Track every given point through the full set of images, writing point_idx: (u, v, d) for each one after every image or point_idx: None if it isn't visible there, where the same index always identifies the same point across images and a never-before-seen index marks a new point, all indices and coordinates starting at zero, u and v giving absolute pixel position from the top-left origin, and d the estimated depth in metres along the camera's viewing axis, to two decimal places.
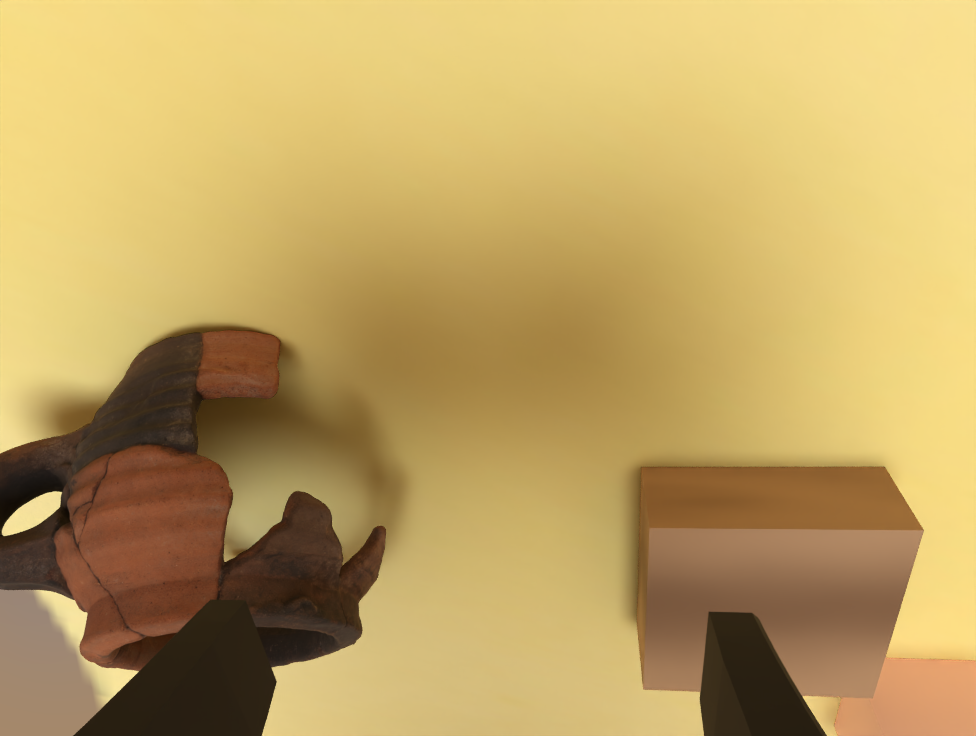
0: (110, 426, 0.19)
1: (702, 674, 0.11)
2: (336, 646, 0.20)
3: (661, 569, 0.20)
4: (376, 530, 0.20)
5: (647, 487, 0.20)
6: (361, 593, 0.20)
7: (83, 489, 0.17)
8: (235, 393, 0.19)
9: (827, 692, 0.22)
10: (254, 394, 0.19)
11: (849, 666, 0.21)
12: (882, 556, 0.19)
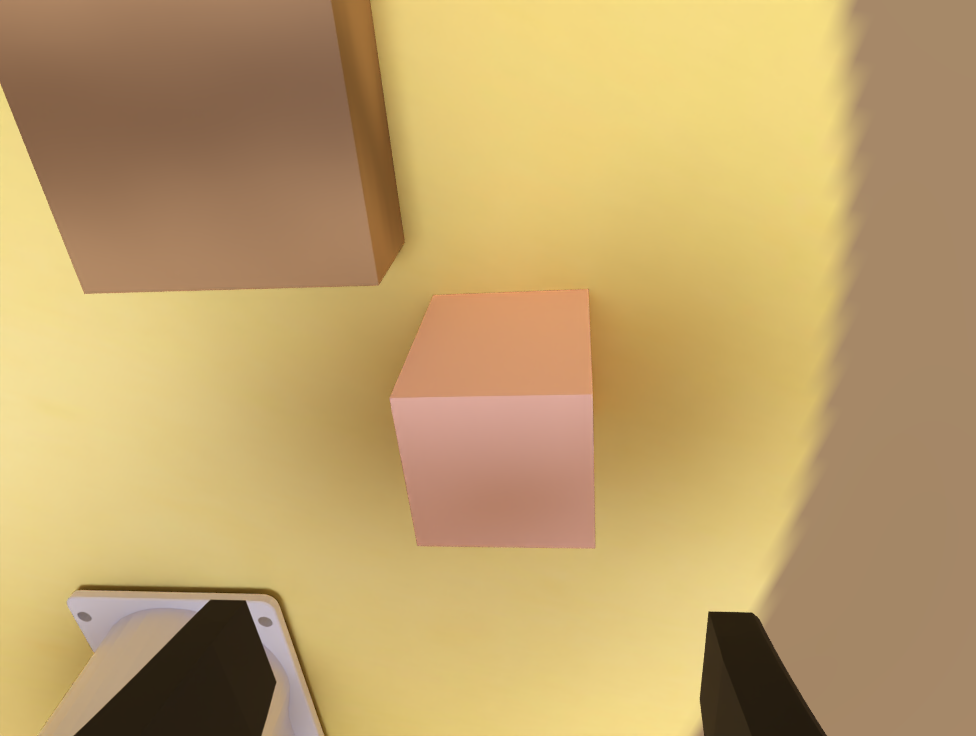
0: None
1: (702, 674, 0.11)
2: None
3: None
4: None
5: None
6: None
7: None
8: None
9: (316, 278, 0.15)
10: None
11: (323, 221, 0.14)
12: None
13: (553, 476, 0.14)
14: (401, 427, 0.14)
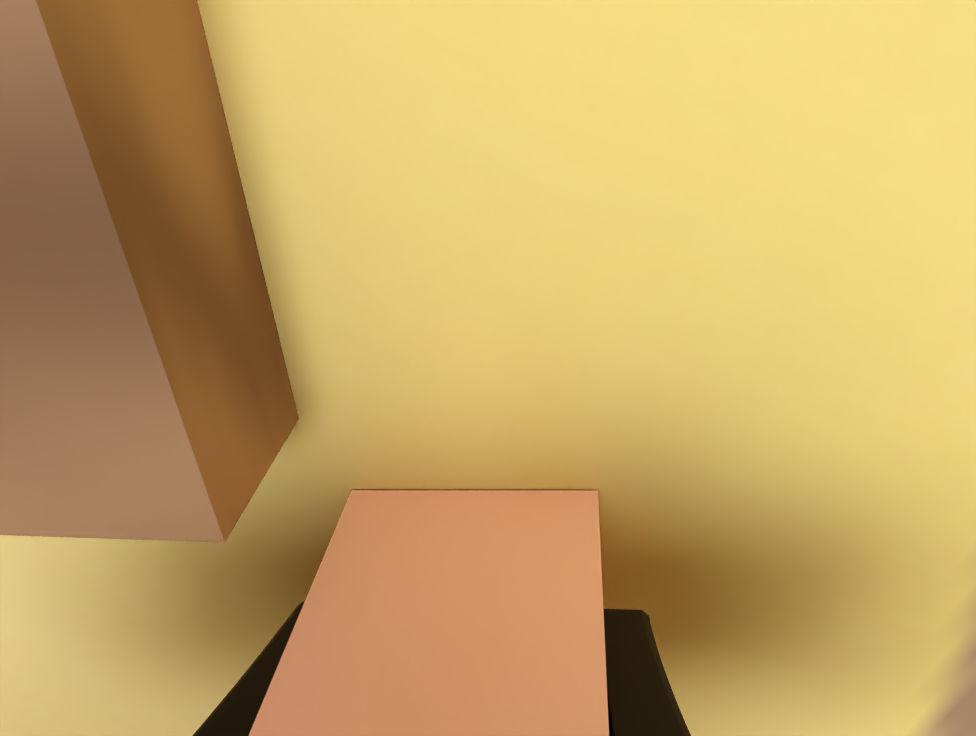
0: None
1: None
2: None
3: None
4: None
5: None
6: None
7: None
8: None
9: (116, 526, 0.09)
10: None
11: (113, 445, 0.08)
12: None
13: None
14: None
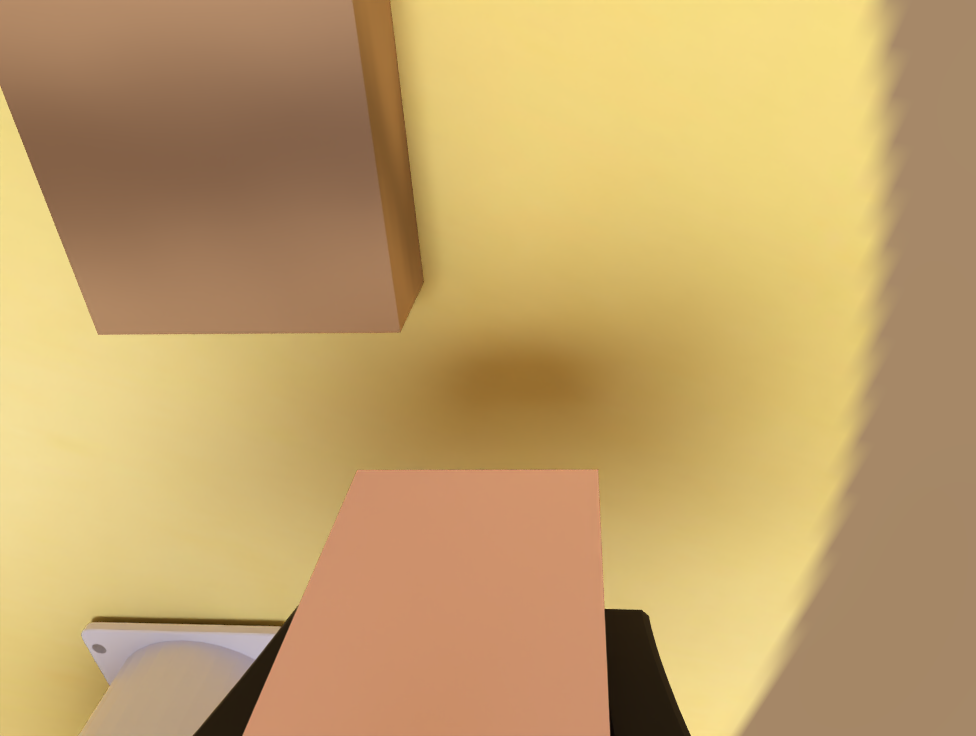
0: None
1: None
2: None
3: (15, 76, 0.13)
4: None
5: None
6: None
7: None
8: None
9: (337, 324, 0.15)
10: None
11: (346, 268, 0.14)
12: (307, 18, 0.12)
13: None
14: None
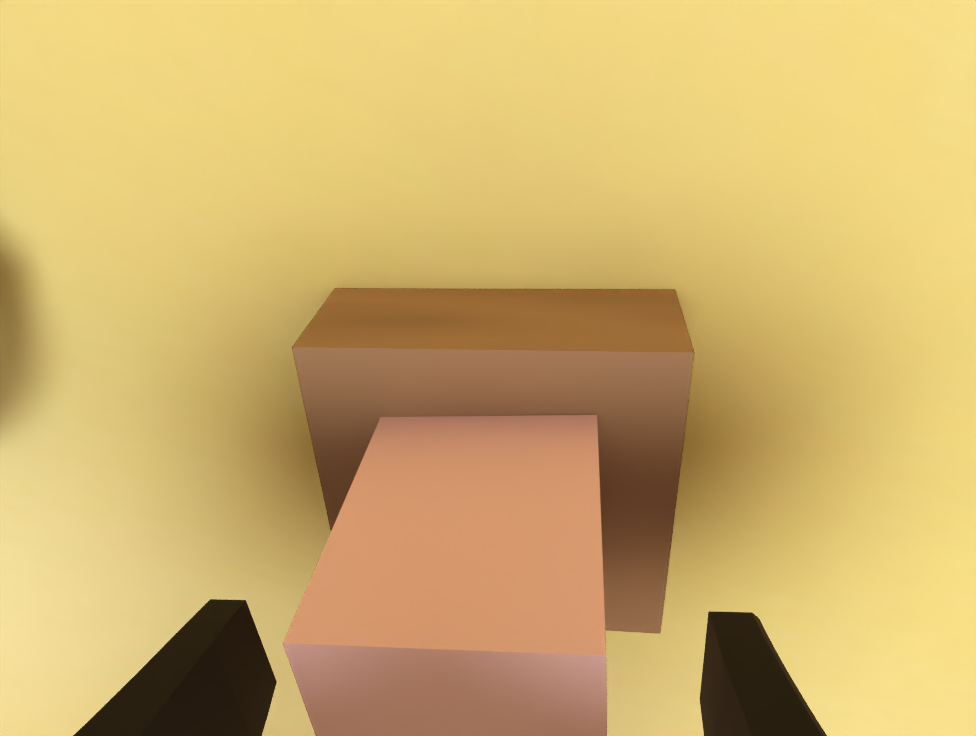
0: None
1: (702, 674, 0.11)
2: None
3: (326, 420, 0.13)
4: None
5: (326, 306, 0.14)
6: None
7: None
8: None
9: None
10: None
11: (619, 583, 0.14)
12: (639, 399, 0.12)
13: None
14: (305, 681, 0.09)
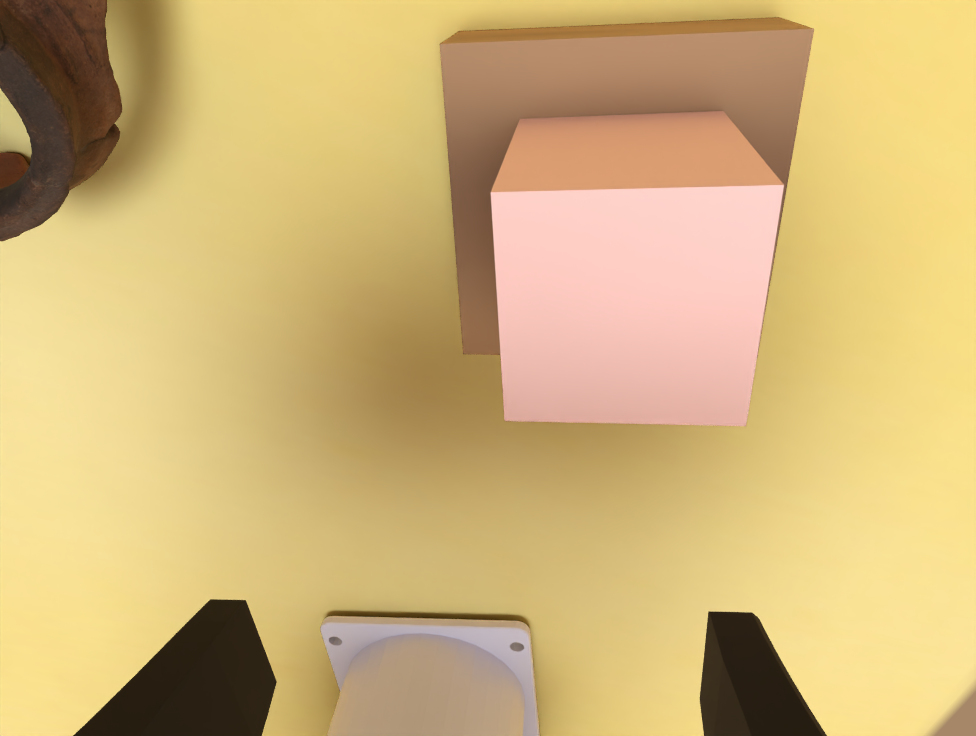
0: None
1: (702, 674, 0.11)
2: (36, 149, 0.14)
3: (464, 126, 0.14)
4: None
5: (457, 34, 0.15)
6: (65, 60, 0.13)
7: None
8: None
9: None
10: None
11: None
12: (759, 85, 0.13)
13: (705, 317, 0.10)
14: (502, 239, 0.10)
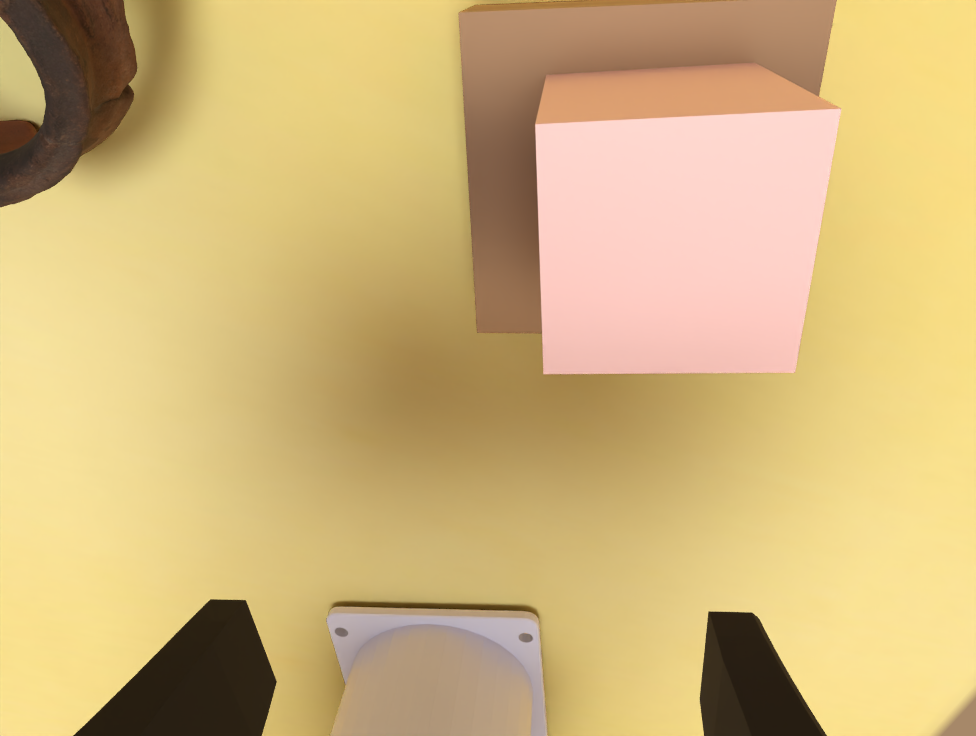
0: None
1: (702, 674, 0.11)
2: (50, 103, 0.13)
3: (481, 97, 0.14)
4: None
5: (474, 6, 0.15)
6: (81, 11, 0.13)
7: None
8: None
9: None
10: None
11: None
12: (780, 54, 0.13)
13: (755, 255, 0.10)
14: (546, 175, 0.10)
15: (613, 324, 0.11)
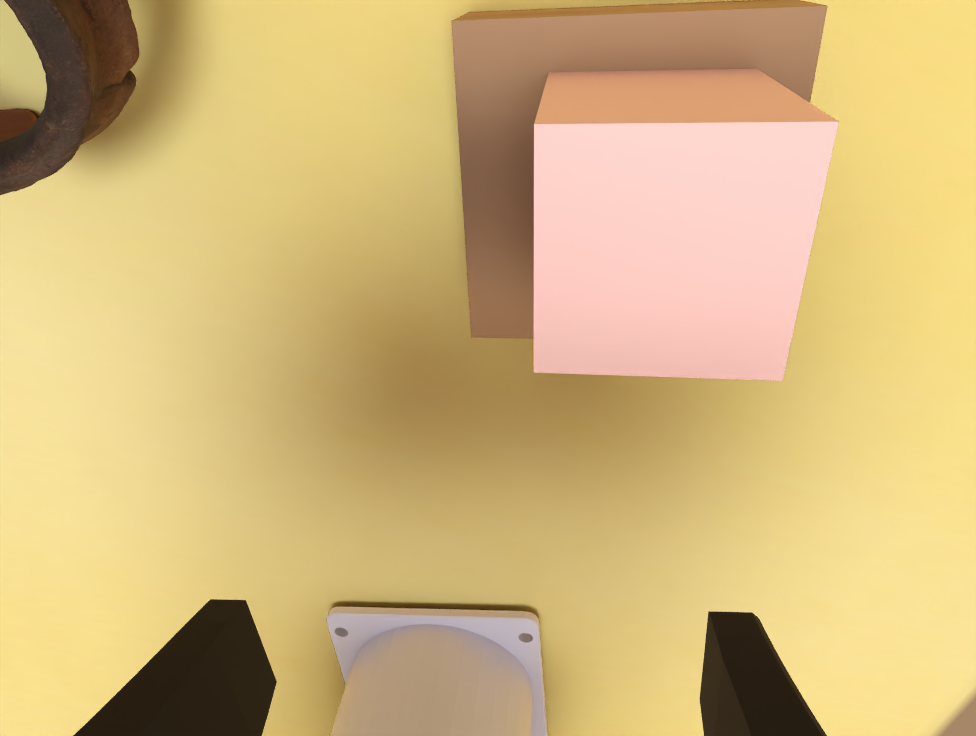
0: None
1: (702, 674, 0.11)
2: (51, 86, 0.13)
3: (474, 105, 0.14)
4: None
5: (468, 14, 0.15)
6: None
7: None
8: None
9: None
10: None
11: None
12: (771, 63, 0.13)
13: (747, 262, 0.10)
14: (543, 175, 0.10)
15: (604, 326, 0.11)
